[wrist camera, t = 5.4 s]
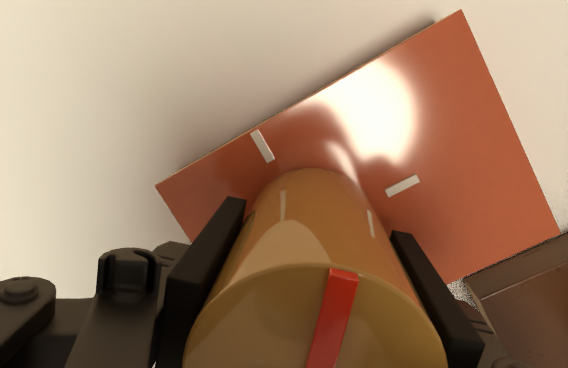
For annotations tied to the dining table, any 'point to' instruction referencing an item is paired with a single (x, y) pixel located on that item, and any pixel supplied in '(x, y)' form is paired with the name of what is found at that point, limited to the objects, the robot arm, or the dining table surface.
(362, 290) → the tap handle
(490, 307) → the brown base with rod
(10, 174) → the dining table surface
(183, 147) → the dining table surface
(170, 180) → the dial panel
